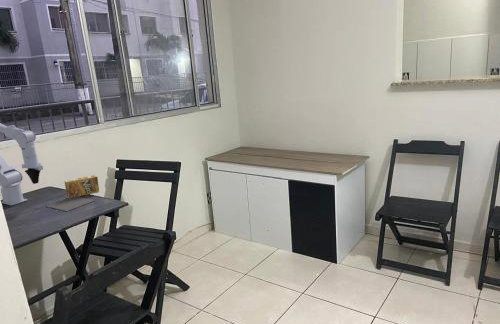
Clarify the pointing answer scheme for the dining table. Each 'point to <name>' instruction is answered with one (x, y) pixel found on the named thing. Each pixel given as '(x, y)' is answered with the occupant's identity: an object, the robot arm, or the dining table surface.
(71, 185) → the candy box
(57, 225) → the dining table surface
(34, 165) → the robot arm
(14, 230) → the dining table surface
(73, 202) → the mat
